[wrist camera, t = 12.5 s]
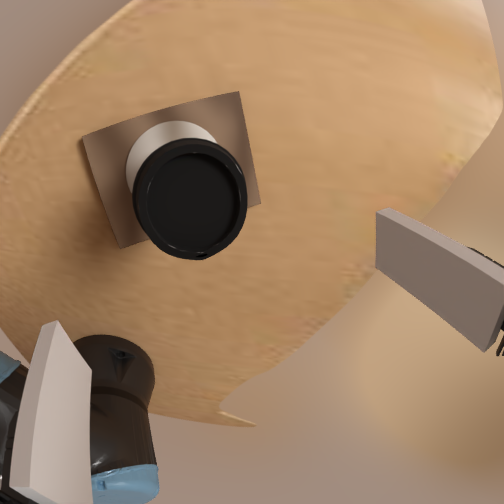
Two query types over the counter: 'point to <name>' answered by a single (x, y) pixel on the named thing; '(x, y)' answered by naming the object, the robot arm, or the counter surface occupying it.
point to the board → (151, 138)
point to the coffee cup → (190, 198)
